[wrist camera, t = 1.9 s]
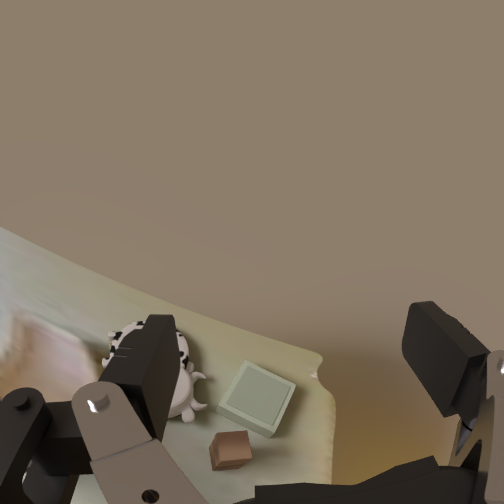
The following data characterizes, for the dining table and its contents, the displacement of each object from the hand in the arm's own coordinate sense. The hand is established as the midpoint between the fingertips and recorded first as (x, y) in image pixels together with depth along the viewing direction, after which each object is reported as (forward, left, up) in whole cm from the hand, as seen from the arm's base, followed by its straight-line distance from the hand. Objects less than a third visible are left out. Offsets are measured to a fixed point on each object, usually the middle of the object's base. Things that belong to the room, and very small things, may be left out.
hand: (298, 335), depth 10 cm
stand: (+20, -2, -49) cm, 53 cm away
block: (+7, -2, -49) cm, 50 cm away
